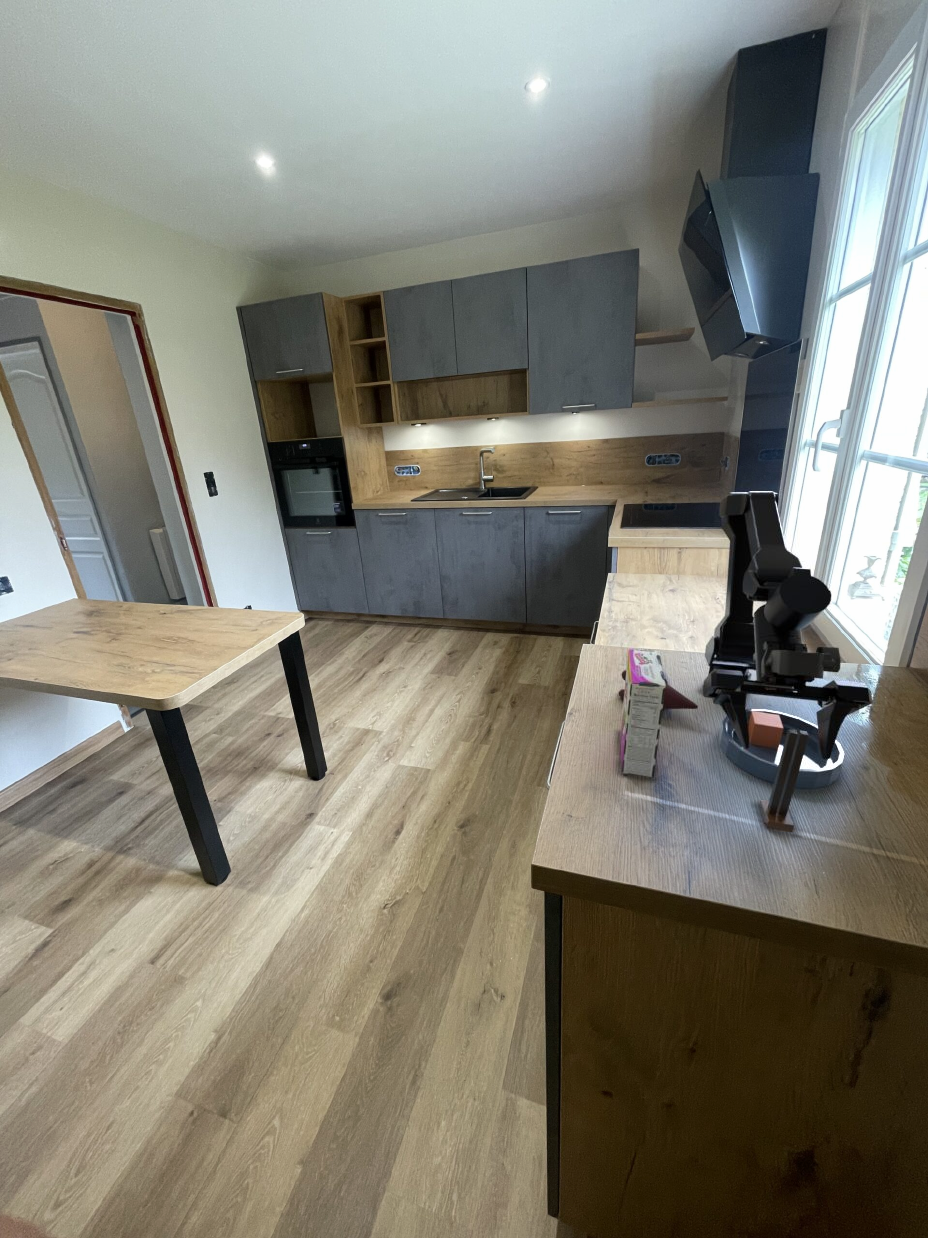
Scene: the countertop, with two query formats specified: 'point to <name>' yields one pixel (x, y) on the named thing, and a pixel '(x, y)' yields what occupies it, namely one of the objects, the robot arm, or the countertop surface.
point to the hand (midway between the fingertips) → (785, 754)
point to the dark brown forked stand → (785, 782)
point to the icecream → (669, 697)
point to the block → (765, 729)
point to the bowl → (767, 759)
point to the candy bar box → (642, 712)
